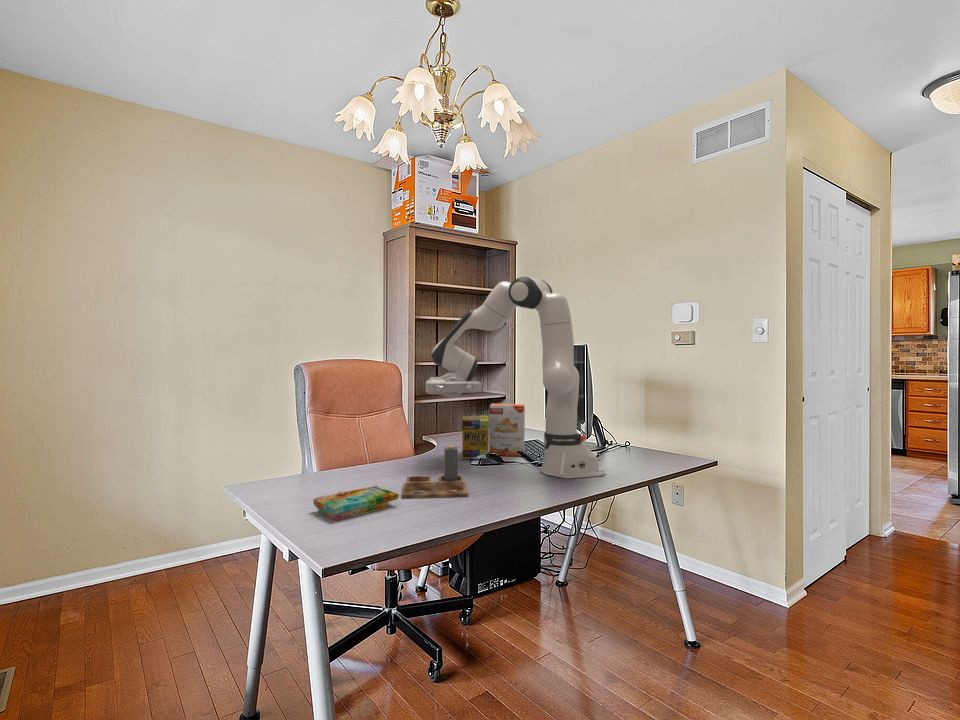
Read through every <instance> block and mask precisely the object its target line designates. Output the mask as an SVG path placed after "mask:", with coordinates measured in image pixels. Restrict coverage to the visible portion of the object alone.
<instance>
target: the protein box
mask: <svg viewBox="0 0 960 720" xmlns="http://www.w3.org/2000/svg"><path fill="white" fill-rule="evenodd" d="M461 432H462V433H461V435H462V439H461V442H462V448H461V449H462V454H461V456H462V458H461V459H462V460H465V459H472V458H474V457H476V456H478V455H482V454H488V455H489V440H490V420H489V416H488V415H472V414H471V415H463V416H462V431H461Z"/></svg>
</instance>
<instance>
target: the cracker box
mask: <svg viewBox="0 0 960 720" xmlns="http://www.w3.org/2000/svg"><path fill="white" fill-rule="evenodd" d="M525 405H526V404H525V403H524V404H523V403H522V404H520V403H519V404H517V403H491V404H490V405H489V446H488V454H489V453H495V454H498V455H502V456H503V457H519V458H521V457H520V455H519V454H518V453H517V451H523V450H524V451H525V430H526V428H525V425H526V424H525V423H526V421H525V418H526V417H525V414H526V411H525V410H526V407H525ZM498 455H497V456H498ZM502 456H501V457H502Z"/></svg>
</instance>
